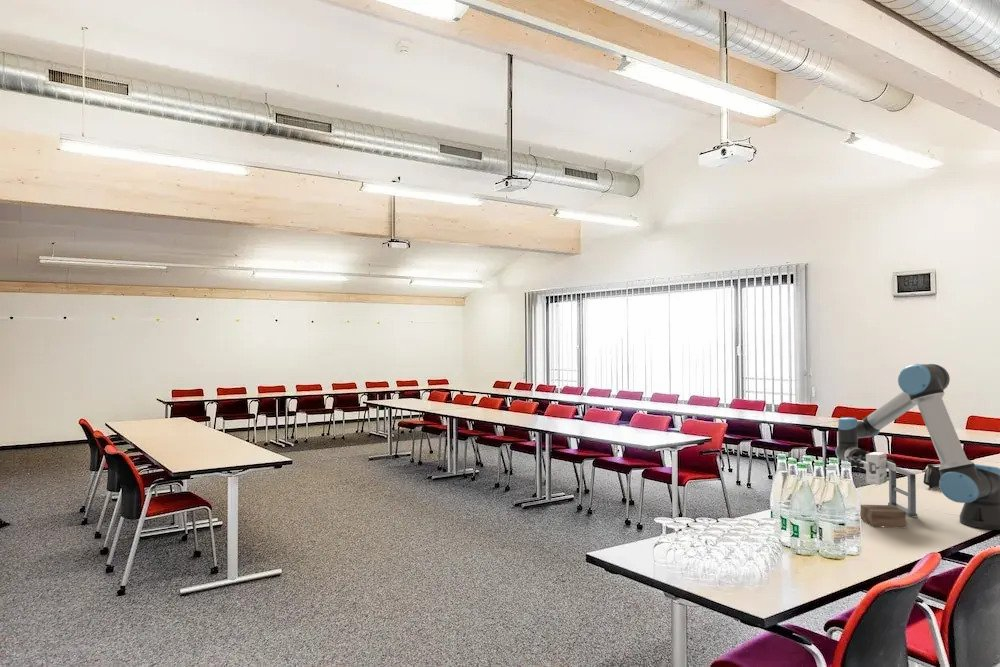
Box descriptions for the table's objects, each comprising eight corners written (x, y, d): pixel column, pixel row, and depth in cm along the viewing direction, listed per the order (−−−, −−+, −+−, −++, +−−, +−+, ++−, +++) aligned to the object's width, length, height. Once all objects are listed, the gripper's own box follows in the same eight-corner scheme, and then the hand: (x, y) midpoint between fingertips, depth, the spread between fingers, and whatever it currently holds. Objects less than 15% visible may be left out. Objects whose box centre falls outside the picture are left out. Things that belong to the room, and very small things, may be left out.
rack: (917, 516, 258) (916, 474, 258) (909, 516, 258) (908, 474, 258) (895, 505, 275) (894, 465, 276) (888, 505, 276) (887, 465, 276)
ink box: (873, 480, 258) (873, 451, 258) (887, 482, 254) (886, 452, 254) (865, 483, 252) (865, 453, 252) (879, 485, 248) (879, 455, 249)
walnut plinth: (905, 527, 242) (905, 512, 242) (872, 526, 244) (872, 511, 244) (892, 520, 252) (892, 505, 252) (860, 519, 254) (860, 504, 254)
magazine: (951, 462, 327) (926, 451, 311) (959, 463, 324) (934, 451, 308) (948, 495, 324) (922, 485, 308) (955, 497, 321) (930, 487, 305)
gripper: (884, 466, 269) (911, 477, 247) (830, 465, 272) (852, 476, 250) (884, 448, 269) (911, 458, 247) (830, 448, 272) (851, 457, 250)
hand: (881, 467), depth 249 cm, fingers closed on ink box, 9 cm apart
